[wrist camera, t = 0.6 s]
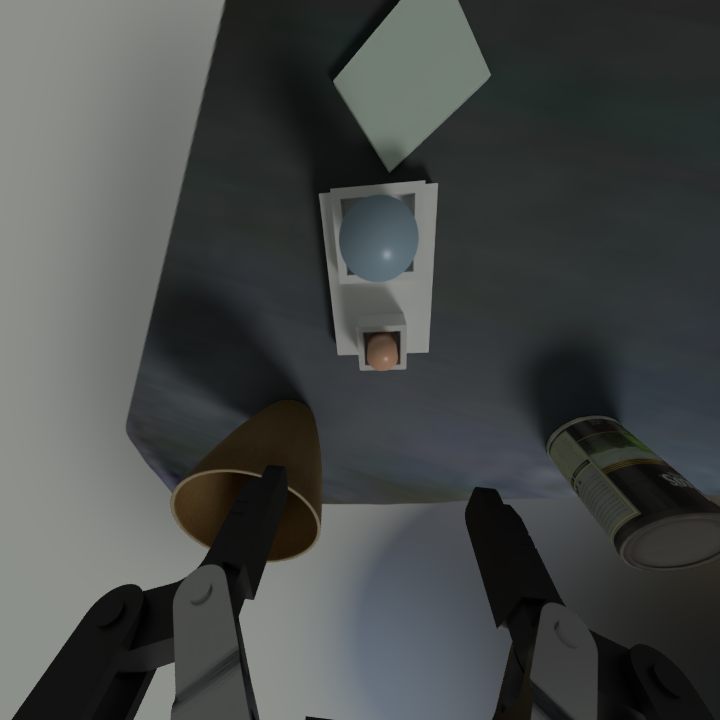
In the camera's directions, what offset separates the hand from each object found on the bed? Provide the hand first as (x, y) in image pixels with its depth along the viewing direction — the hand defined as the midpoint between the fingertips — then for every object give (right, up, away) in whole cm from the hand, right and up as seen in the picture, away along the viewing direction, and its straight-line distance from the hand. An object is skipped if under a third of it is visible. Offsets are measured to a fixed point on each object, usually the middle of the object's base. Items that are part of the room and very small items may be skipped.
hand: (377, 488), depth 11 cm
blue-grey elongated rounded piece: (+1, +18, +15) cm, 23 cm away
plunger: (+2, +7, +17) cm, 19 cm away
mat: (+3, +29, +11) cm, 31 cm away
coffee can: (+32, -7, +28) cm, 43 cm away
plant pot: (-11, -3, +29) cm, 31 cm away
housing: (+2, +15, +19) cm, 24 cm away
